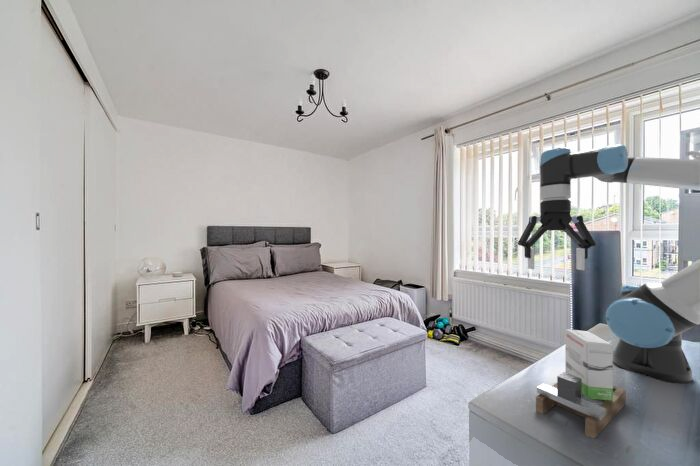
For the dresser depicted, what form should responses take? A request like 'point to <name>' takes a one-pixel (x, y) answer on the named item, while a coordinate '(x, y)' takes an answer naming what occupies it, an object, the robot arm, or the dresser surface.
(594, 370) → the ink box
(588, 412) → the bar
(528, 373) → the dresser surface
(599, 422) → the dock
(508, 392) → the dresser surface
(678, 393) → the dresser surface
